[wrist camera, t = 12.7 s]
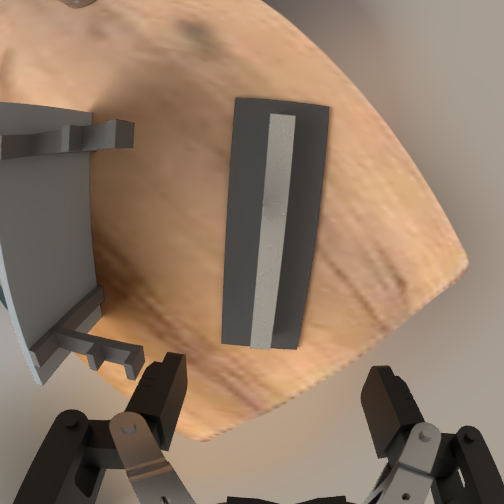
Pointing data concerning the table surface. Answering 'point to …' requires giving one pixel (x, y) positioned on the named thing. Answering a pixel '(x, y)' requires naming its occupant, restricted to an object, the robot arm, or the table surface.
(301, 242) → the mat
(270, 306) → the rail
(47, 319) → the rail stand
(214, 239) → the table surface
